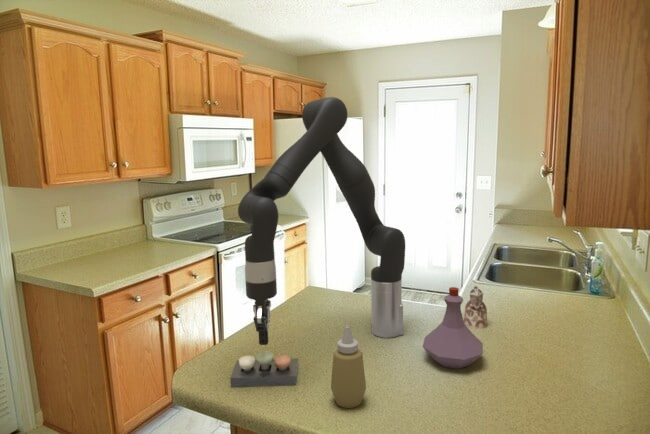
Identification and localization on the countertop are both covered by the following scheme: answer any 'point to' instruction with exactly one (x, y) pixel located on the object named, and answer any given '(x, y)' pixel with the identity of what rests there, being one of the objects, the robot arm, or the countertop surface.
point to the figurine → (475, 310)
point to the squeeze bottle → (348, 372)
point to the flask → (453, 337)
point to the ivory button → (247, 363)
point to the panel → (264, 375)
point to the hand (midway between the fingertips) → (263, 343)
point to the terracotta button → (282, 362)
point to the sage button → (265, 360)
